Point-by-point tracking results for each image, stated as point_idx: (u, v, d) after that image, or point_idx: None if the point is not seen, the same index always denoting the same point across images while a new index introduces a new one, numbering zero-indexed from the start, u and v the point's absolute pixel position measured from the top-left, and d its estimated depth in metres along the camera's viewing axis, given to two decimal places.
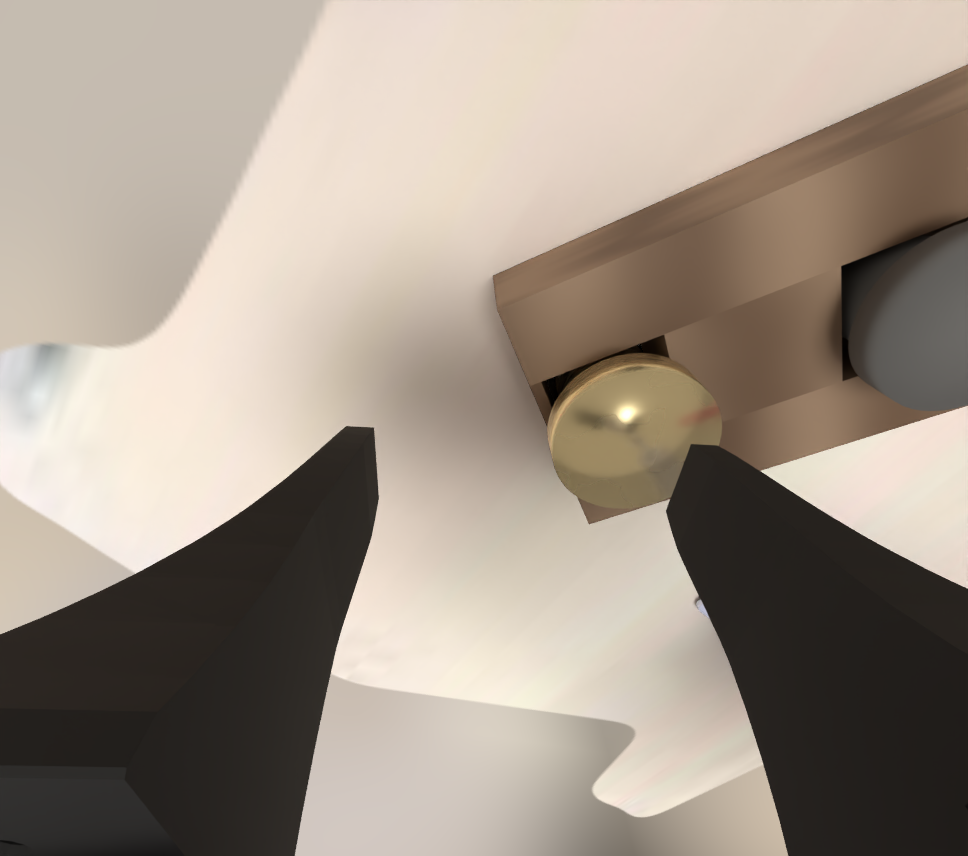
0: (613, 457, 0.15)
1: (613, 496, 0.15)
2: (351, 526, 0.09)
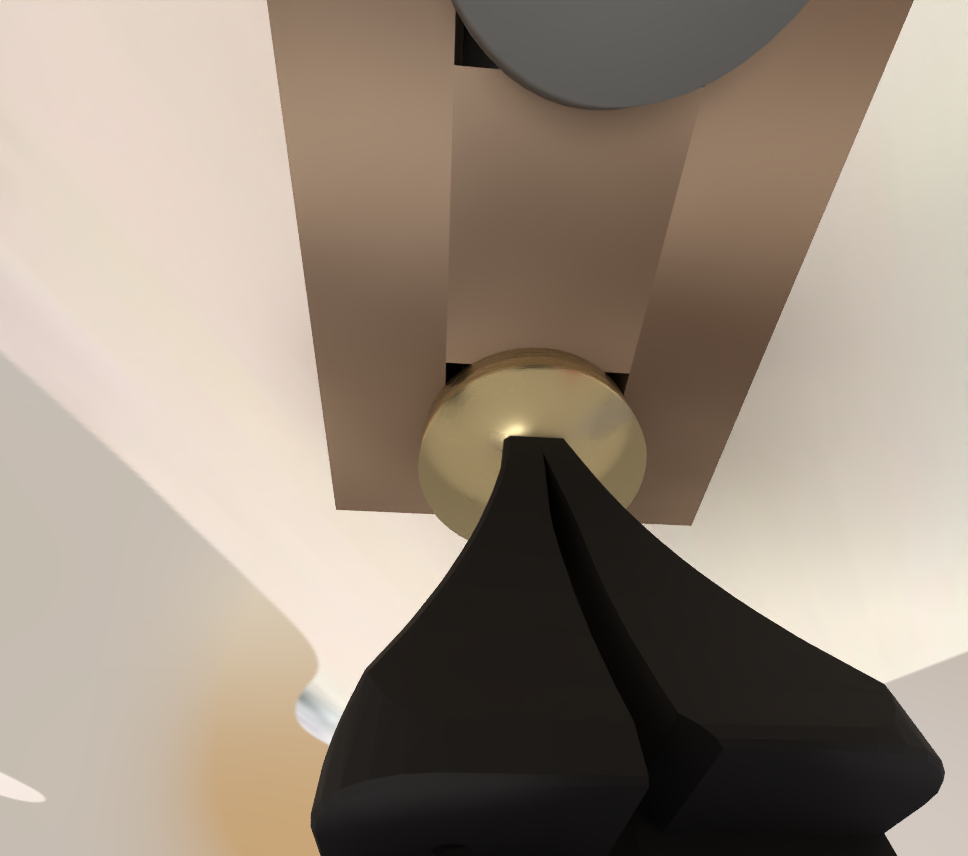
0: None
1: None
2: None
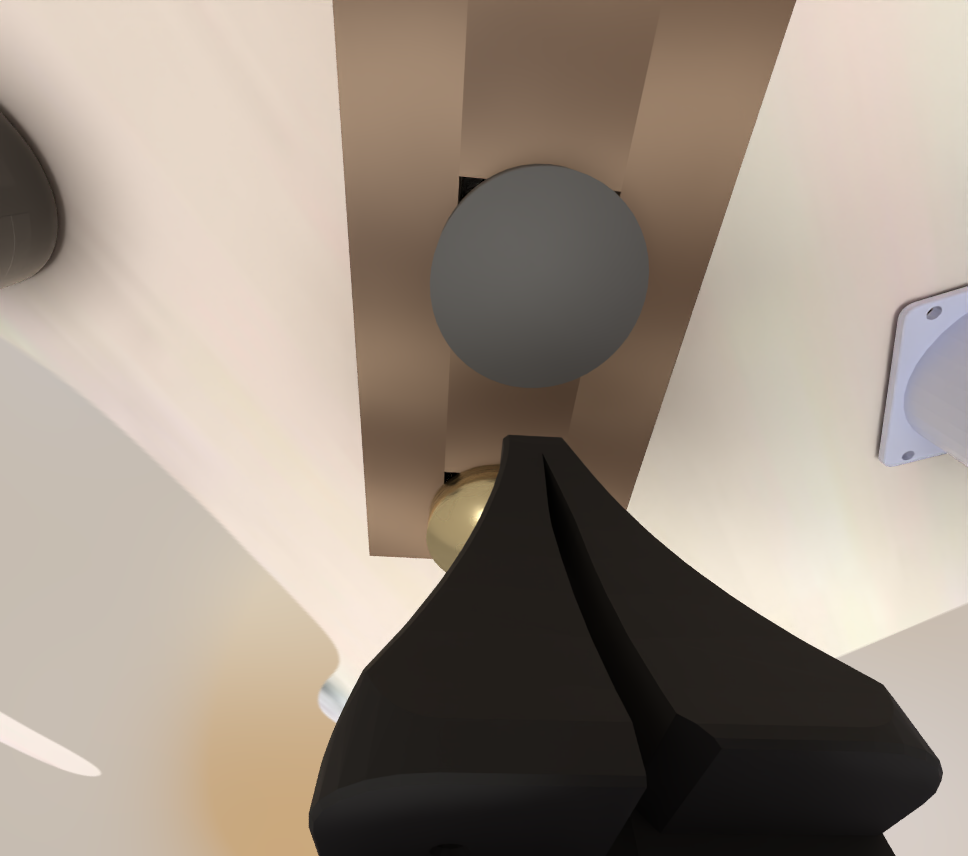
0: None
1: None
2: None
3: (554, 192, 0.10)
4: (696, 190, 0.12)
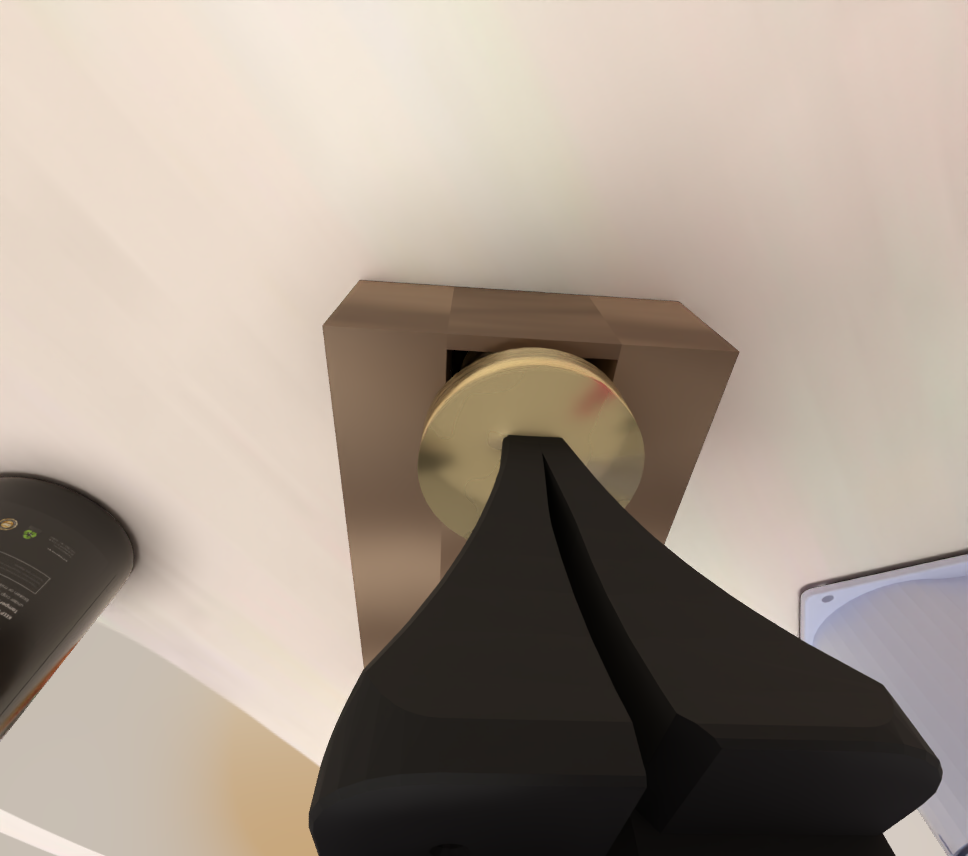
0: None
1: None
2: None
3: None
4: None
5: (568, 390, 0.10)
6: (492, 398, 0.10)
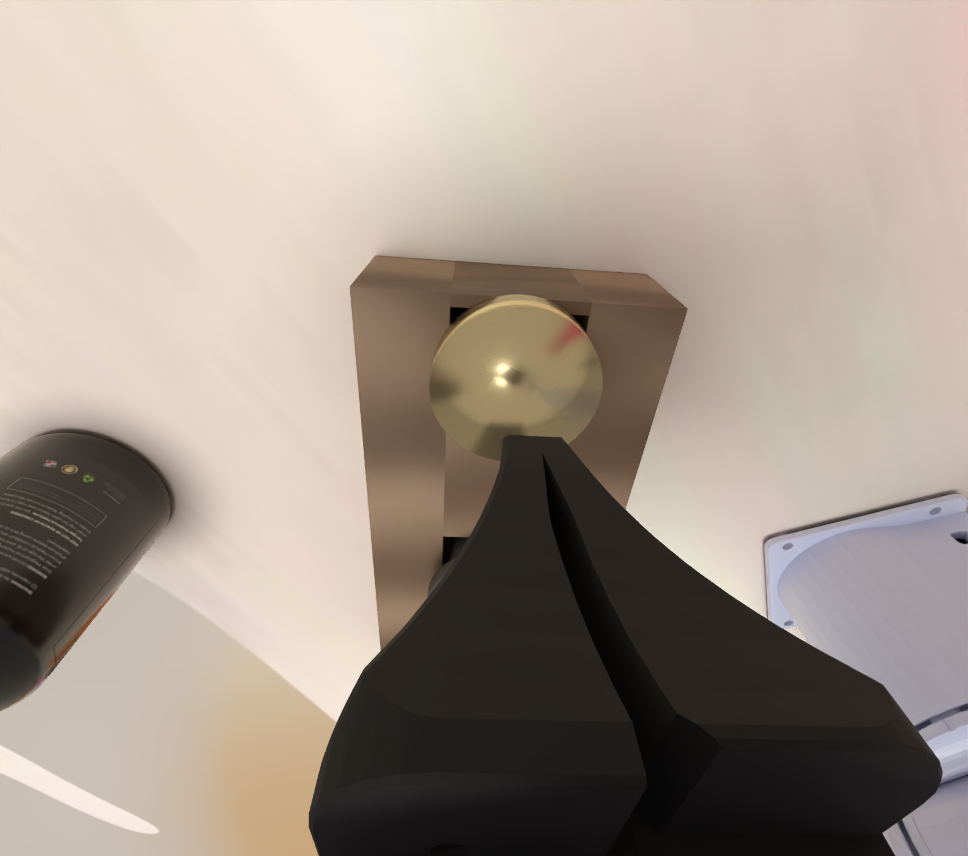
0: None
1: None
2: None
3: None
4: None
5: (542, 323, 0.13)
6: (486, 329, 0.13)
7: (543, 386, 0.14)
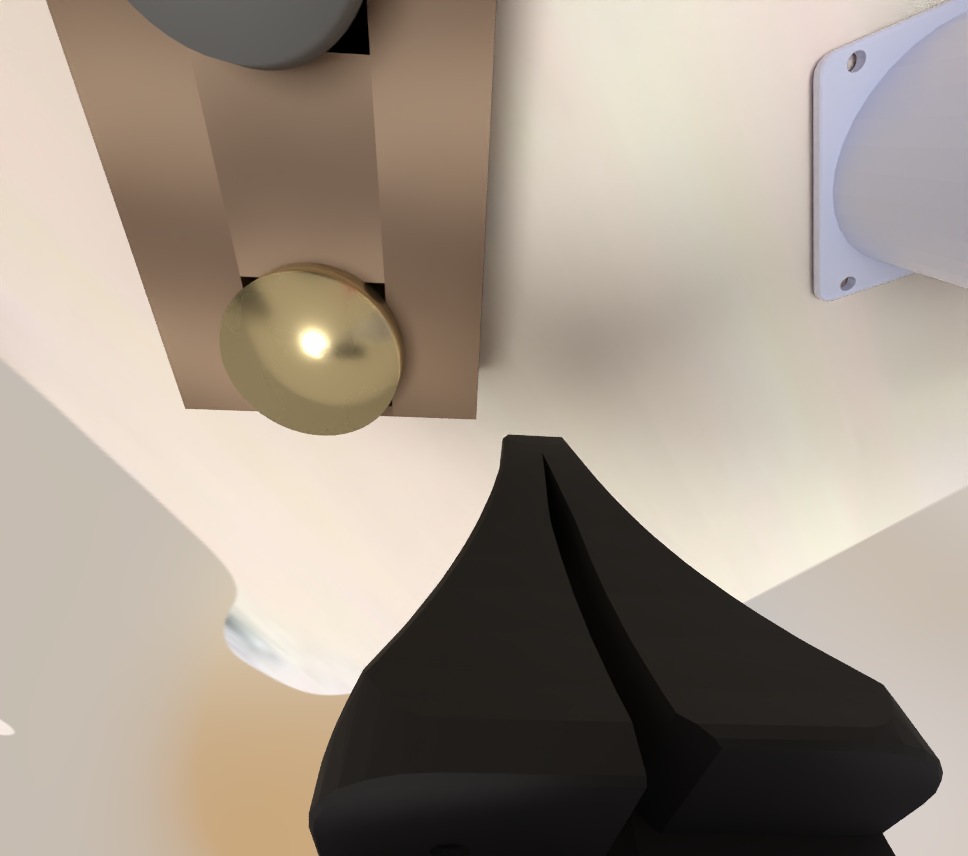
0: (318, 385, 0.14)
1: (372, 399, 0.14)
2: None
3: None
4: None
5: None
6: None
7: None
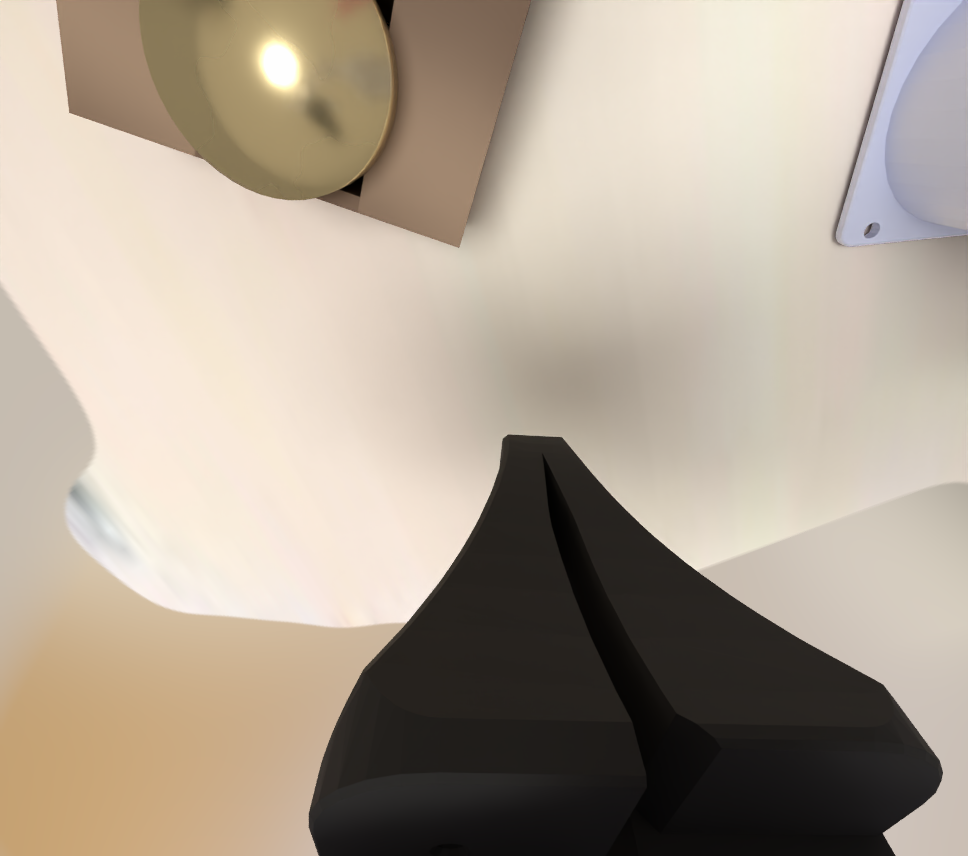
0: (271, 109, 0.10)
1: (340, 156, 0.11)
2: None
3: None
4: None
5: None
6: None
7: None
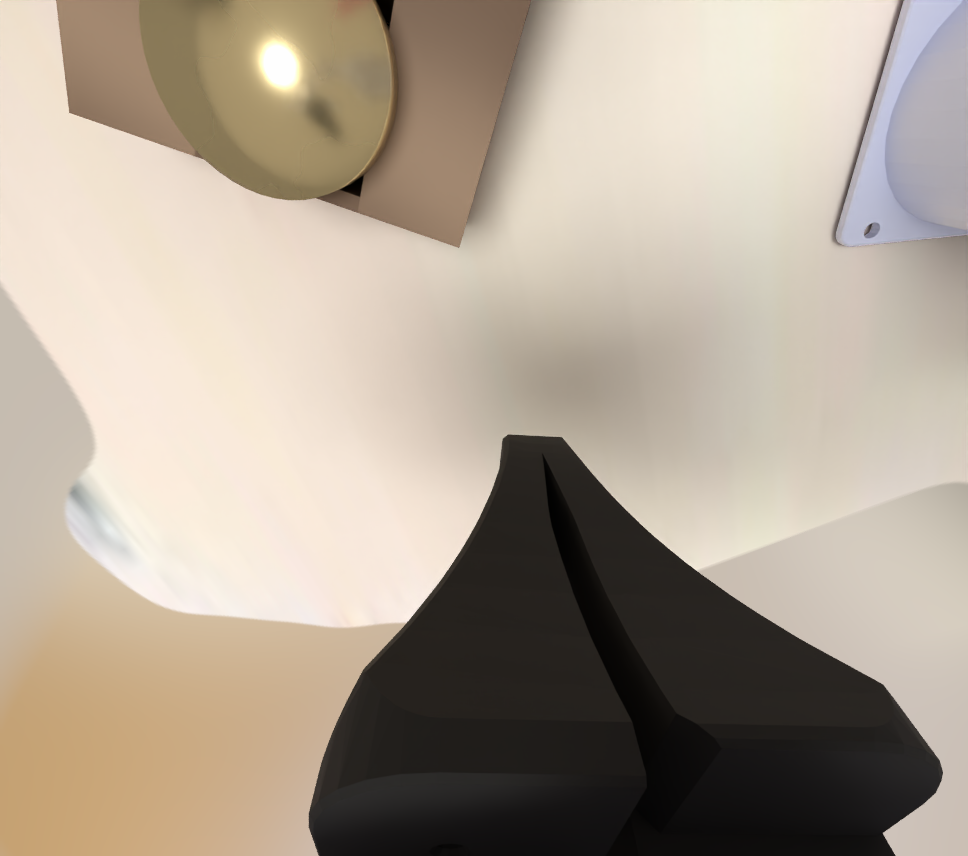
0: (271, 109, 0.10)
1: (340, 156, 0.11)
2: None
3: None
4: None
5: None
6: None
7: None
